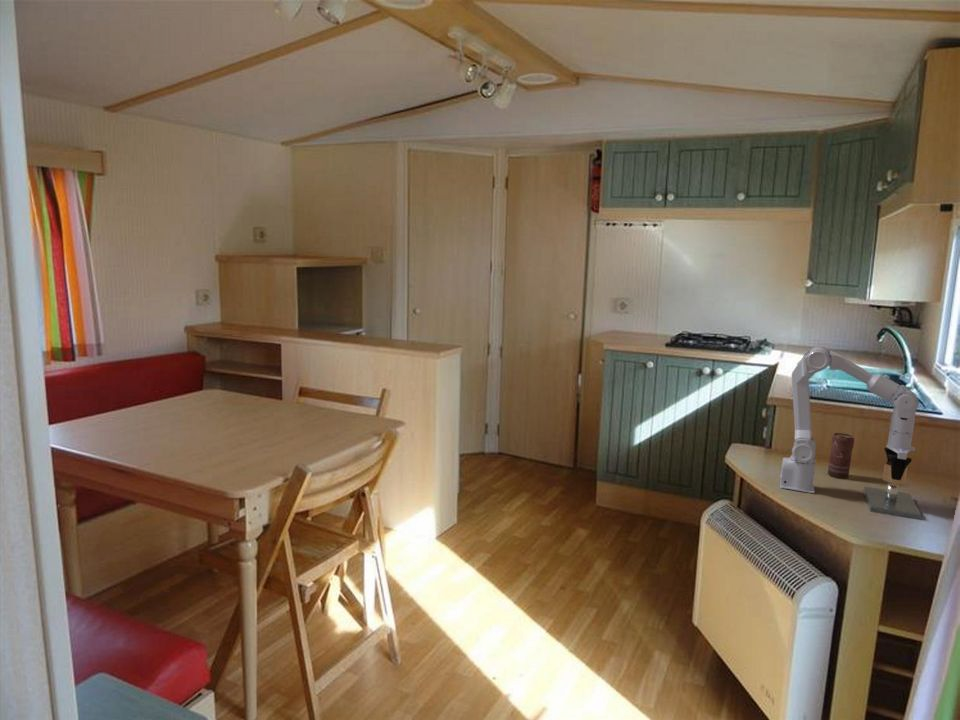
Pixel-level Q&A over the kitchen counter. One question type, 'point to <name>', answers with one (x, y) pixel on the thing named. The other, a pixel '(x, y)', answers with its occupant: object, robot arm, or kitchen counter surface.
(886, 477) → the tan cup
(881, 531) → the kitchen counter surface
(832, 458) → the can
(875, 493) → the piston jig
